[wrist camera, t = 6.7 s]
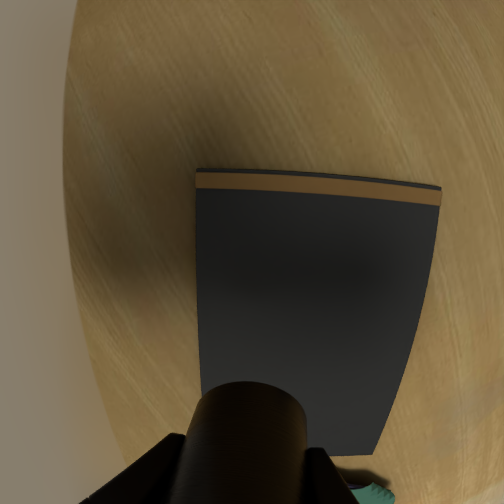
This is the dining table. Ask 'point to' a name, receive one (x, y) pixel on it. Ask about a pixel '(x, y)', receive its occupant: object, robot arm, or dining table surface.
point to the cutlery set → (372, 494)
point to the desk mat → (313, 291)
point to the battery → (243, 449)
